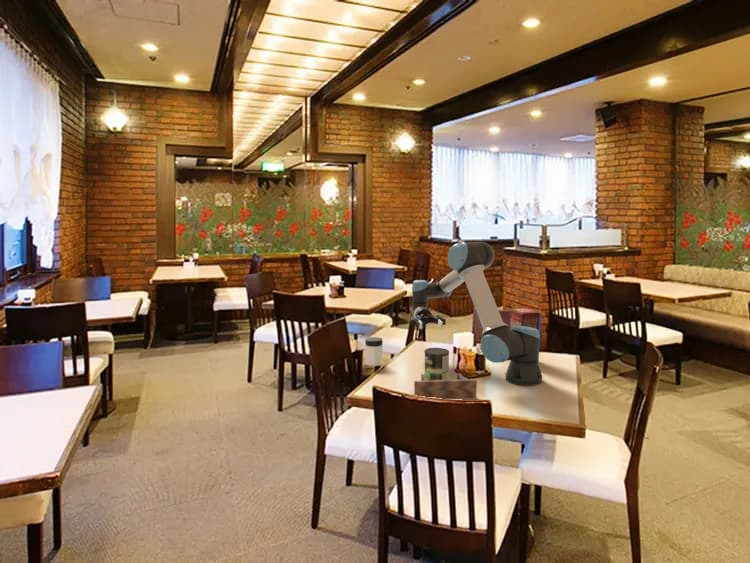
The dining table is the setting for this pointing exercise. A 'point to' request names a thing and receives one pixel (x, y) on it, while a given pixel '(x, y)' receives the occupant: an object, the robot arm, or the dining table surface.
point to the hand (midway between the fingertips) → (431, 325)
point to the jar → (374, 351)
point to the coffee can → (436, 363)
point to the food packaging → (524, 318)
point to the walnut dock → (446, 387)
